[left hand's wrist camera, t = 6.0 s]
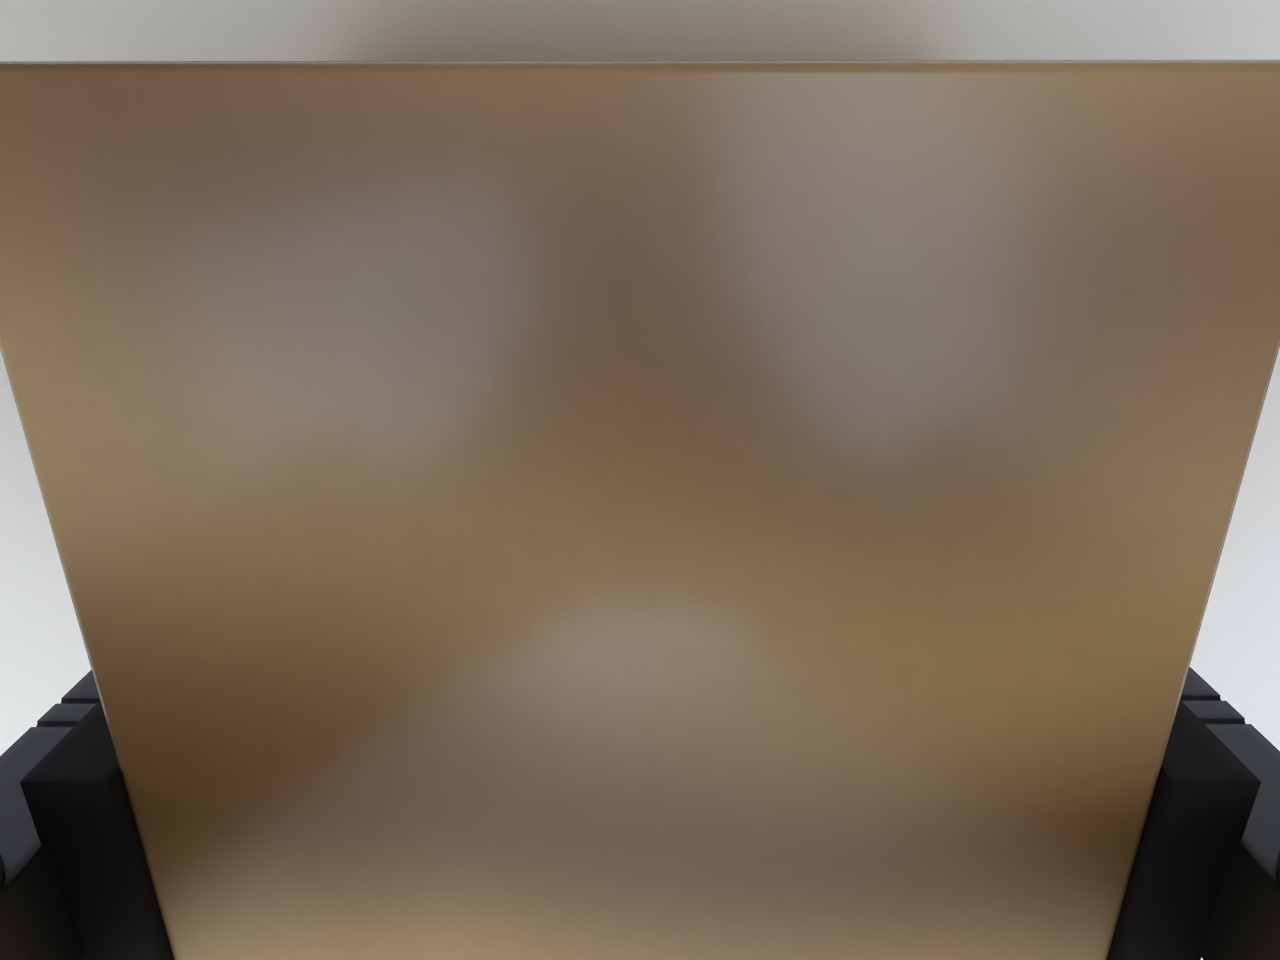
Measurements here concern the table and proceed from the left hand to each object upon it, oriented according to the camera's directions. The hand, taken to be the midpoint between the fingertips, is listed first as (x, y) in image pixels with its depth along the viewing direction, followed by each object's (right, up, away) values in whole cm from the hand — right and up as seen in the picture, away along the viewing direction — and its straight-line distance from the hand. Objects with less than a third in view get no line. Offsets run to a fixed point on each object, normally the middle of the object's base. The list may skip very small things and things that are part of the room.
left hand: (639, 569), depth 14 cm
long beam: (0, -30, +13) cm, 33 cm away
